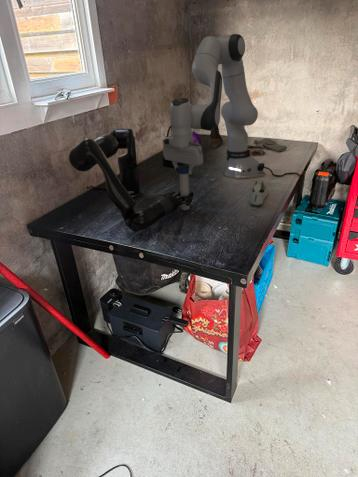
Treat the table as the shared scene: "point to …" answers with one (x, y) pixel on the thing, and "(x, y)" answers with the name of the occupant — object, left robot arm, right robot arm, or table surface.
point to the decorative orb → (196, 138)
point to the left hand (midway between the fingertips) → (188, 193)
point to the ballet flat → (258, 193)
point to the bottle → (184, 188)
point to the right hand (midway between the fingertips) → (183, 172)
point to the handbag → (165, 162)
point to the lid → (183, 169)
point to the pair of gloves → (267, 144)
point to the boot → (215, 137)
